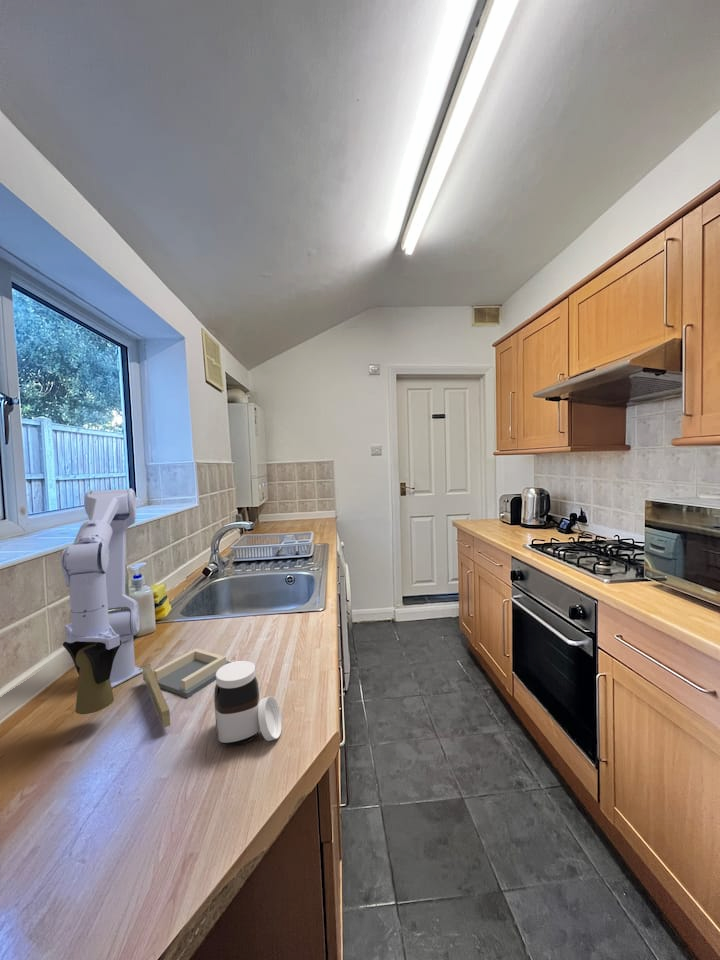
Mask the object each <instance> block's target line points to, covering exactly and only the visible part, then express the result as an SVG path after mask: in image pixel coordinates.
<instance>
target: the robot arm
mask: <svg viewBox="0 0 720 960" xmlns="http://www.w3.org/2000/svg"><path fill="white" fill-rule="evenodd" d="M84 510H85V513H86V515H87V517H88V520H87V521H86V522H84V523H82V525H81V526H80V527H79V529H78V532H77V534H76V537H75V539H74V540H73V541H74V542H73V543H72V544H70V545H69V546H68V548H67V547H65V548H64V549H63V551H62V552H61V553H62V554H61V561H60V563H61V571H62V574H63V576H64V581H65V587H67V588H68V592H69V593H68V594H69V595H68V596H69V606H70V607H69V609H70V622H71V623H68V624H66V625H64V634H65V636H66V637H65V641H64V642H63V643H62V646H63V648H64V649H65V650H66V651H67V653H68V654H69V655H70V657H71V659H72V661H73V663H74V666H75V669H76V672H77V674H78V675H79V671H80V668H79V667H78V666H77V664H76V660H75V659H76V655H77V653H78V651H79V650H81V649H82V648H84V647H86V646H89V645H93V644H96V646H93V647H91V648H88V649H86V650H84V653H85V655H86V656H87V657H88V659H89V661H90V663H91V666H92V670H93V675H94V679H95V682H96V683H97V684H100V683H102V682H104V681H106V680H108V679H109V678H110V683H111V687H112V689H113V688H114V687H117V686H119V685H121V684H122V683H124V682H126V681H128V680H130V679H132V678H134V677H136V676H138V675H140V674H141V673H142V674H143V668H140V667H138V666H136V660H135V659H136V658H135V648H134V647H135V644H134V636H136V635H137V634H138V632H139V631H140V625H141V624H140V623H141V621H140V619H141V618H140V609H139V608H140V607H139V603H138V601H137V600H136V599H134V598H132V597H131V596H129V595H127V594H126V577H127V575H126V570H127V569H126V567H127V566H126V563H127V562H126V559H127V558H126V557H127V556H126V555H127V554H126V553H127V533H128V528H129V527H130V526H132V525H133V524H135V523H136V519H137V497H136V492H135V490H134V489H133V488H125V489H124V488H123V489H121V488H120V489H105V490H92V489H90V490H88V491H87V492H86V493H85V495H84ZM124 608H125V609H124ZM111 610H112V611H111Z"/></svg>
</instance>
